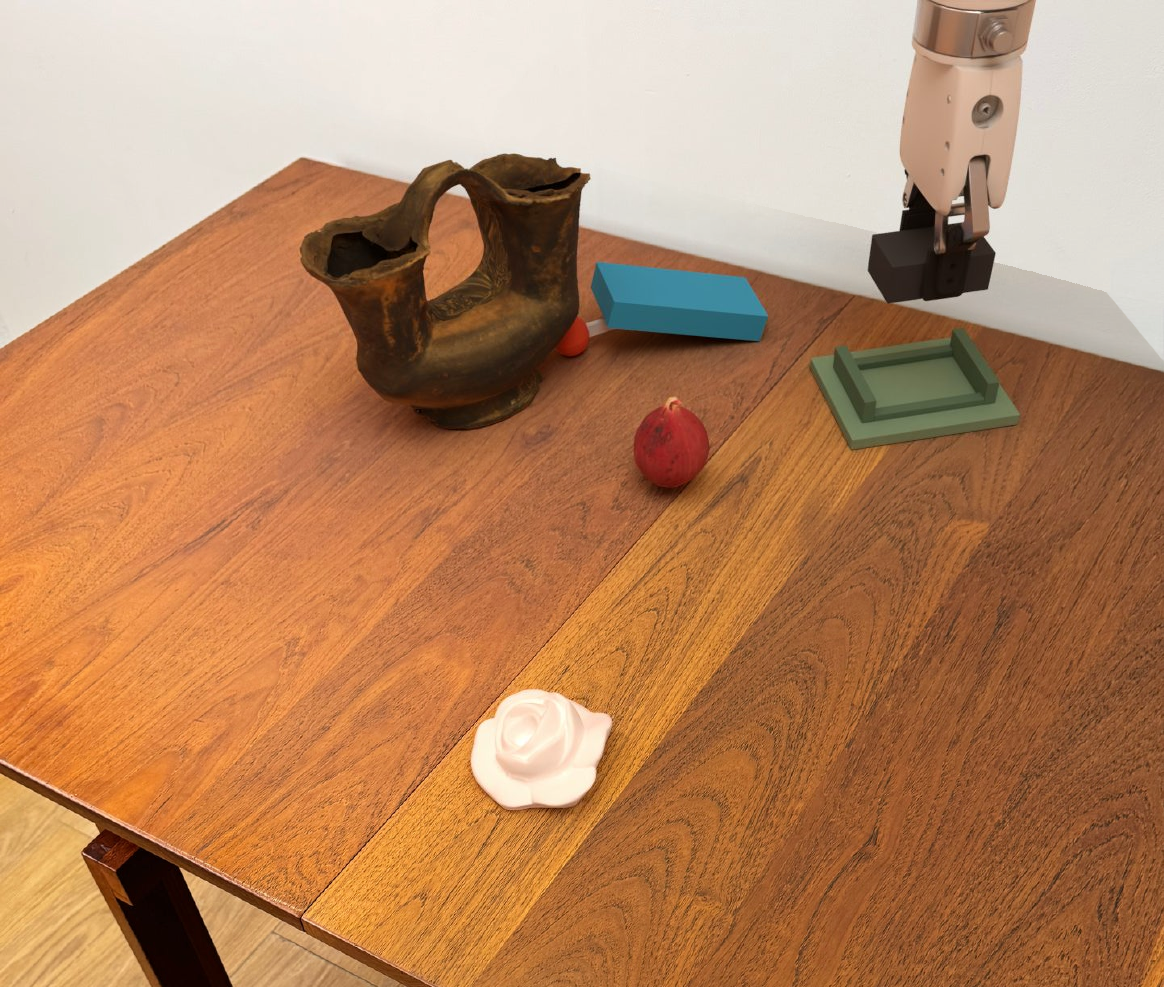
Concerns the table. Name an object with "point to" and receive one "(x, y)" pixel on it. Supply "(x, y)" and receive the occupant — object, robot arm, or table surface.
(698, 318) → the lever
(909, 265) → the black block
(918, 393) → the base pad
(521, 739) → the rose
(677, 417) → the onion
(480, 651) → the table surface
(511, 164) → the pottery vessel
